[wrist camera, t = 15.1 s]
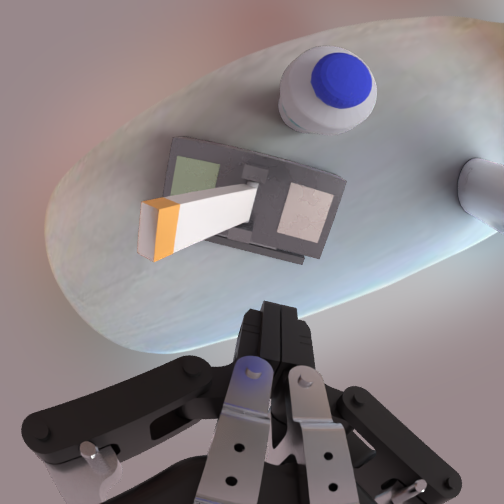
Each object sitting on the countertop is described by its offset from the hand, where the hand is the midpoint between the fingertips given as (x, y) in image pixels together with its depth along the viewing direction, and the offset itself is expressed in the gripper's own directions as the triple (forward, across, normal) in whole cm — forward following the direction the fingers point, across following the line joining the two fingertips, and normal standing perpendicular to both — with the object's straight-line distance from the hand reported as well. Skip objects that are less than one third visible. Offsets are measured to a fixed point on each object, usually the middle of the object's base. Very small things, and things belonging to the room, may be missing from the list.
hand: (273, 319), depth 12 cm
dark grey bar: (+24, +3, +6) cm, 25 cm away
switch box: (+24, +3, 0) cm, 24 cm away
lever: (+19, +3, 0) cm, 19 cm away
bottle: (+24, 0, -12) cm, 27 cm away
